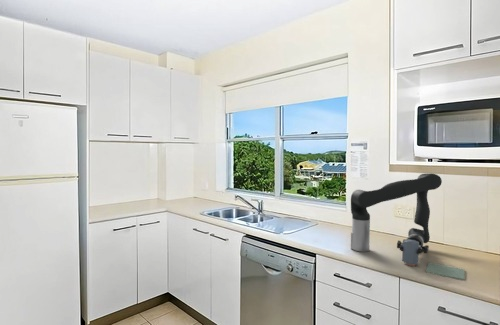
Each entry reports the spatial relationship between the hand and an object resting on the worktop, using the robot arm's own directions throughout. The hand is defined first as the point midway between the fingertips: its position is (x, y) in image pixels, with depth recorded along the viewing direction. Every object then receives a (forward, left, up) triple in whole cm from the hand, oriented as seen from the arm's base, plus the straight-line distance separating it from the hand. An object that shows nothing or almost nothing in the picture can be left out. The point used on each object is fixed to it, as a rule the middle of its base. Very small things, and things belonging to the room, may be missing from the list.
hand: (409, 250), depth 139 cm
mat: (+14, +2, -7) cm, 16 cm away
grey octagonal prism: (0, +2, -6) cm, 6 cm away
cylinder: (0, +2, -7) cm, 8 cm away
